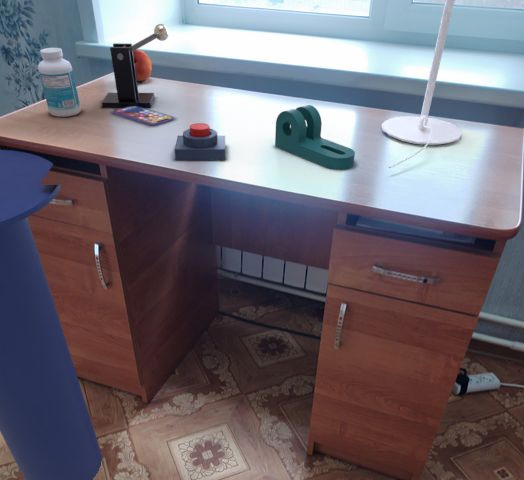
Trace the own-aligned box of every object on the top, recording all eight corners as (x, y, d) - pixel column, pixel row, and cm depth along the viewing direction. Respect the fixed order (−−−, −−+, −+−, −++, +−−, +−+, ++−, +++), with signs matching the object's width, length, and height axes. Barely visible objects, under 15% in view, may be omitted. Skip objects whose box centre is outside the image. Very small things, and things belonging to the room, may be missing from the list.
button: (189, 138, 101) (189, 129, 100) (190, 131, 104) (190, 122, 103) (209, 138, 101) (209, 129, 100) (210, 131, 104) (209, 122, 103)
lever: (171, 35, 122) (164, 20, 120) (170, 37, 119) (163, 22, 117) (122, 62, 125) (114, 48, 123) (120, 65, 123) (112, 51, 121)
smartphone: (134, 108, 128) (176, 121, 121) (111, 114, 123) (153, 128, 117) (134, 104, 127) (175, 117, 120) (110, 110, 123) (152, 124, 116)
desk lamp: (381, 116, 125) (423, -134, 95) (456, 122, 123) (523, -133, 93) (378, 175, 98) (435, -151, 68) (474, 184, 95) (577, -149, 66)
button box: (175, 160, 102) (173, 140, 99) (178, 146, 108) (176, 126, 105) (225, 160, 102) (224, 140, 99) (225, 146, 108) (224, 126, 105)
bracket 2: (275, 146, 108) (276, 107, 103) (297, 139, 112) (299, 101, 107) (338, 172, 99) (343, 130, 93) (360, 163, 102) (366, 123, 97)
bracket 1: (154, 97, 134) (148, 42, 125) (150, 108, 127) (143, 50, 118) (108, 97, 133) (99, 41, 124) (102, 107, 126) (91, 49, 118)
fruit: (120, 81, 145) (115, 49, 140) (141, 76, 150) (137, 45, 144) (138, 86, 141) (134, 54, 136) (159, 80, 146) (156, 49, 141)
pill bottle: (61, 107, 126) (47, 45, 117) (87, 110, 124) (75, 47, 115) (43, 115, 121) (26, 51, 112) (69, 119, 119) (55, 54, 110)
